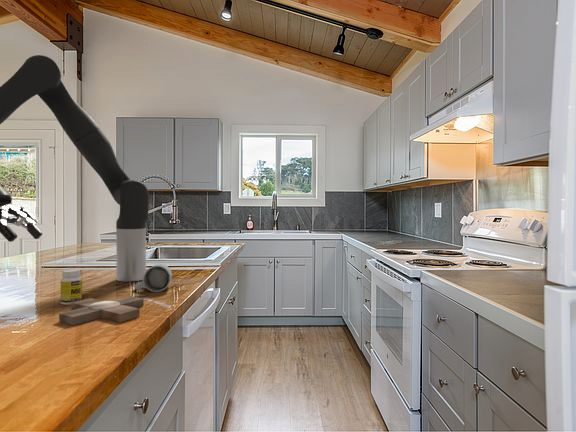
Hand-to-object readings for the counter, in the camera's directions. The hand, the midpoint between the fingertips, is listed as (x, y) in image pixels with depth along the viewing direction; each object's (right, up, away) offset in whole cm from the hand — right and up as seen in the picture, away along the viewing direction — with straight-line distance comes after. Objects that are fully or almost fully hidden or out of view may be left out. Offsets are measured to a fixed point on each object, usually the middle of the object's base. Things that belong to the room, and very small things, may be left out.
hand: (27, 238), depth 97 cm
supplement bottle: (+11, -17, 0) cm, 20 cm away
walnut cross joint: (+24, -17, -9) cm, 31 cm away
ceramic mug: (+27, -17, +16) cm, 35 cm away
